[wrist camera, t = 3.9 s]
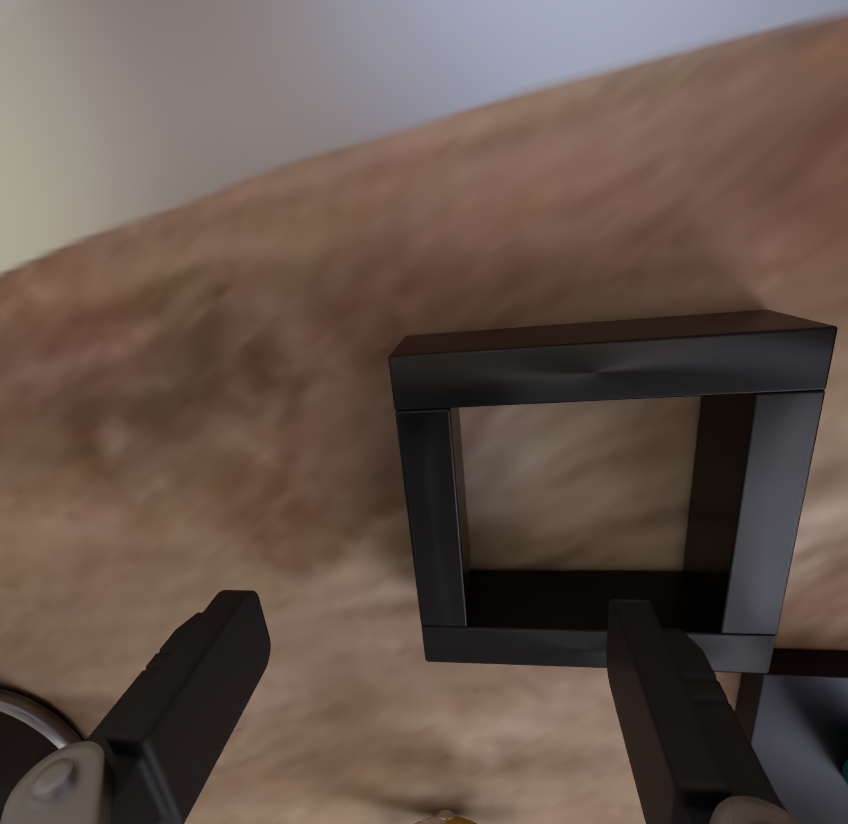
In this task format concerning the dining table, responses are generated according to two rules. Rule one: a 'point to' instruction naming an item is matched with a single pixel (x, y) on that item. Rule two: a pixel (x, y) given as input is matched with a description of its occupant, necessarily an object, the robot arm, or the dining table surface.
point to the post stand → (801, 730)
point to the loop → (711, 491)
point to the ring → (445, 819)
